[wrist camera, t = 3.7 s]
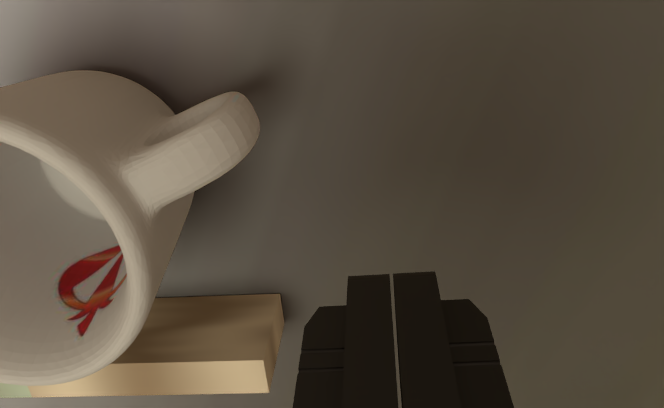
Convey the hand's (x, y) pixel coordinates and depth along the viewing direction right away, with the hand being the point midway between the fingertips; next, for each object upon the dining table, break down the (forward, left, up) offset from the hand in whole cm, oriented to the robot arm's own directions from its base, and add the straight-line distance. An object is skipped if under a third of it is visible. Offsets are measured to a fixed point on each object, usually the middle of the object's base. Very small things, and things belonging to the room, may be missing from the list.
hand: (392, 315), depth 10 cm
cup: (+9, 0, -11) cm, 14 cm away
